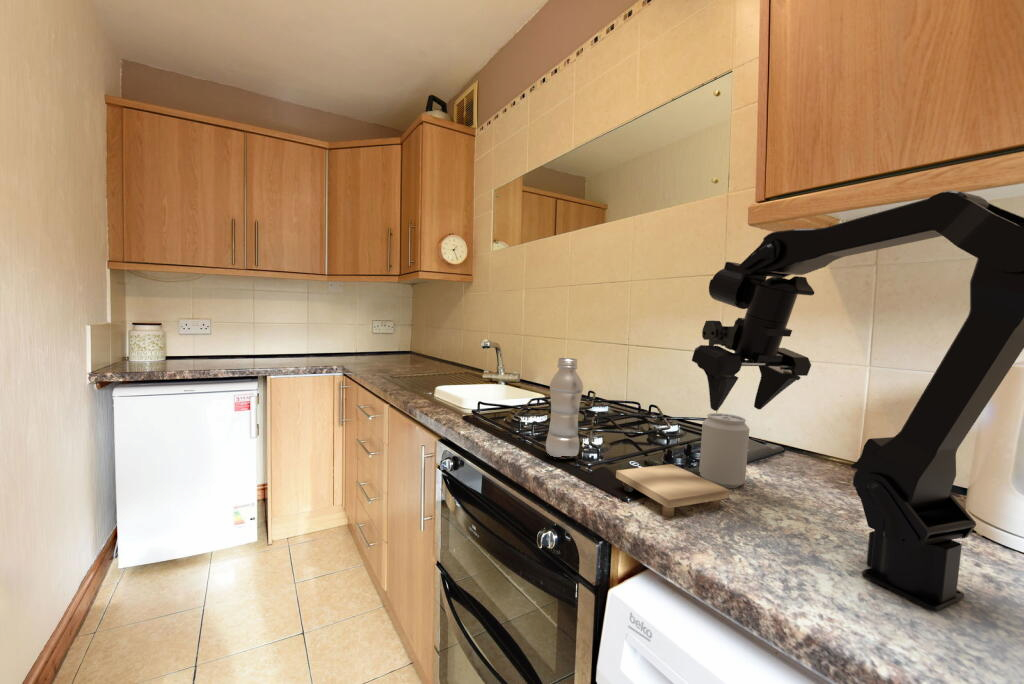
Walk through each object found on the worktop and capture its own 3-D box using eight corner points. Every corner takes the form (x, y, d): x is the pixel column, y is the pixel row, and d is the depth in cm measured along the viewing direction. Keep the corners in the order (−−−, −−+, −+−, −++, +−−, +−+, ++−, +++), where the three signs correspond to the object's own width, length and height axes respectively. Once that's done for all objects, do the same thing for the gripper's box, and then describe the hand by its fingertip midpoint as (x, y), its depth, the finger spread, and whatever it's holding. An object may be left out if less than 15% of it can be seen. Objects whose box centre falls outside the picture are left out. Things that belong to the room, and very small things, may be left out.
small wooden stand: (728, 509, 65) (729, 490, 65) (667, 520, 61) (669, 499, 60) (670, 480, 76) (671, 464, 76) (615, 488, 72) (616, 470, 71)
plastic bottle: (541, 453, 88) (546, 356, 87) (572, 452, 90) (578, 357, 88) (549, 463, 82) (555, 359, 81) (583, 463, 83) (589, 361, 82)
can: (696, 483, 76) (701, 416, 75) (700, 471, 82) (704, 409, 82) (745, 493, 72) (750, 423, 71) (744, 479, 79) (749, 415, 78)
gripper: (768, 306, 75) (741, 387, 80) (682, 300, 69) (658, 388, 74) (828, 326, 66) (794, 416, 70) (734, 320, 59) (703, 420, 64)
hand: (735, 409), depth 70 cm, fingers open, 9 cm apart
